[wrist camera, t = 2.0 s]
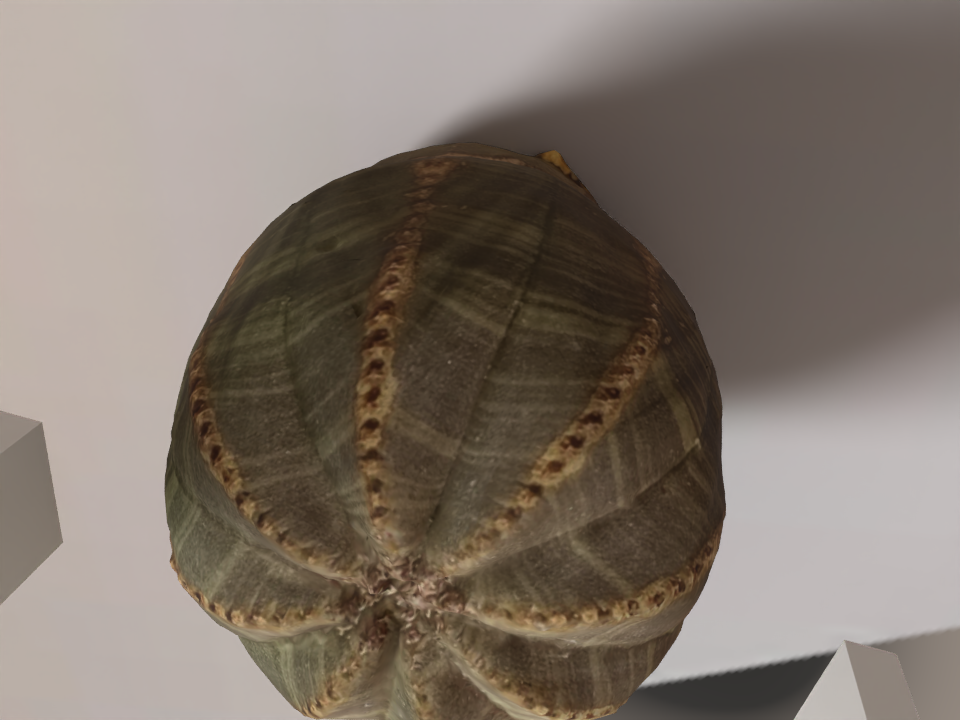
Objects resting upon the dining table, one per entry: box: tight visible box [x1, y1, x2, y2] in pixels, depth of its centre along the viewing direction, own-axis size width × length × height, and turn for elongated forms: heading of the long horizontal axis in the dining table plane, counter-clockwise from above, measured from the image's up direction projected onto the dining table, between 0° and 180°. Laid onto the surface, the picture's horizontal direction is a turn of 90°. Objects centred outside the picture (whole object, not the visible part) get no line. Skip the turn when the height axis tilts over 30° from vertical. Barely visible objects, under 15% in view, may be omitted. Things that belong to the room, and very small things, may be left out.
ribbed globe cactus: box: [165, 143, 726, 720], centre depth 16 cm, size 11×11×12 cm
